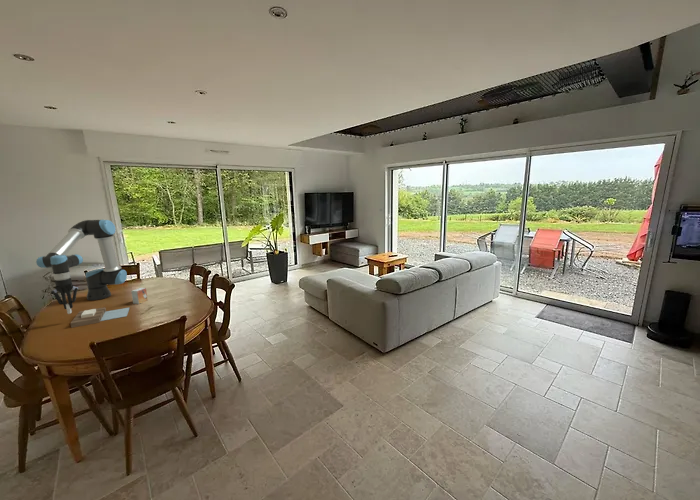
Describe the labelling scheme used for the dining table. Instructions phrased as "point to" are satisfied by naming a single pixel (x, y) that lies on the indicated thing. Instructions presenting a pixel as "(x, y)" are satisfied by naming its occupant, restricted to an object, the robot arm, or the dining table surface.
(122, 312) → the mat
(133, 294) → the small box
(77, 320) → the deck
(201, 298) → the dining table surface
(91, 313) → the white flat block
